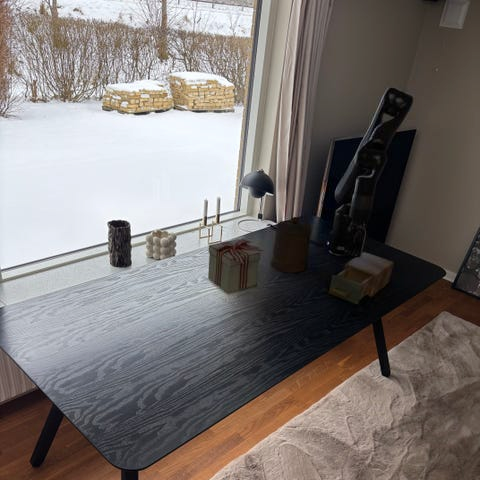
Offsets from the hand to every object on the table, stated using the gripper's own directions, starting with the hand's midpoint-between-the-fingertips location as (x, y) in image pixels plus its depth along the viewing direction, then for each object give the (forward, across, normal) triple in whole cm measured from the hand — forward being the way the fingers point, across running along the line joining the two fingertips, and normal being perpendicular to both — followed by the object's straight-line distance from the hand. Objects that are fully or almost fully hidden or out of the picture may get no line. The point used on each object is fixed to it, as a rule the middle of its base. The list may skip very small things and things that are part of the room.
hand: (352, 248), depth 185 cm
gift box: (+19, -26, +36) cm, 48 cm away
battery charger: (+3, 0, 0) cm, 3 cm away
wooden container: (+19, +4, +30) cm, 36 cm away
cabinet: (+19, +13, -3) cm, 23 cm away
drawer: (+18, -2, -3) cm, 18 cm away
